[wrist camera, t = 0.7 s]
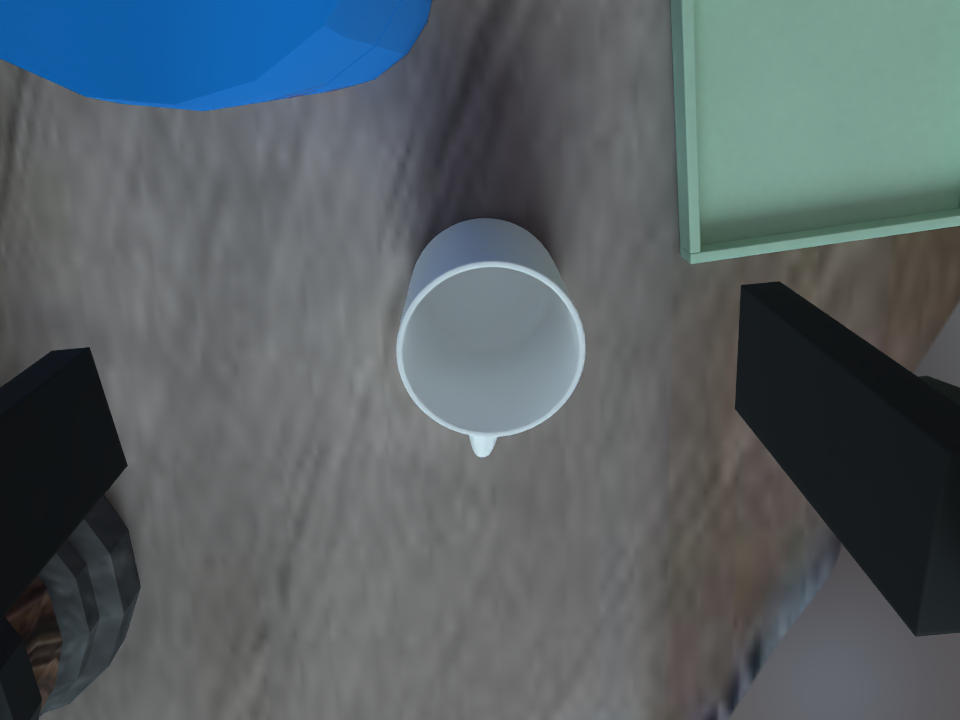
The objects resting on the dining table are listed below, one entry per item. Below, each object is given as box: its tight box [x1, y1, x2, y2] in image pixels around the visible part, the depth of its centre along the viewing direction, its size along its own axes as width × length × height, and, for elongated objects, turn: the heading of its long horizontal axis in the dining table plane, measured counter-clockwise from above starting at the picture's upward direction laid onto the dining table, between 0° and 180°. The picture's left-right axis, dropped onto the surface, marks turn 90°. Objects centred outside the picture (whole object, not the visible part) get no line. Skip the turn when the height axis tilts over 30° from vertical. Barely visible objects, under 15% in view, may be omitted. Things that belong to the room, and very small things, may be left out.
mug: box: [396, 218, 586, 457], centre depth 38 cm, size 9×12×11 cm
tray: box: [670, 0, 960, 264], centre depth 38 cm, size 16×16×2 cm
